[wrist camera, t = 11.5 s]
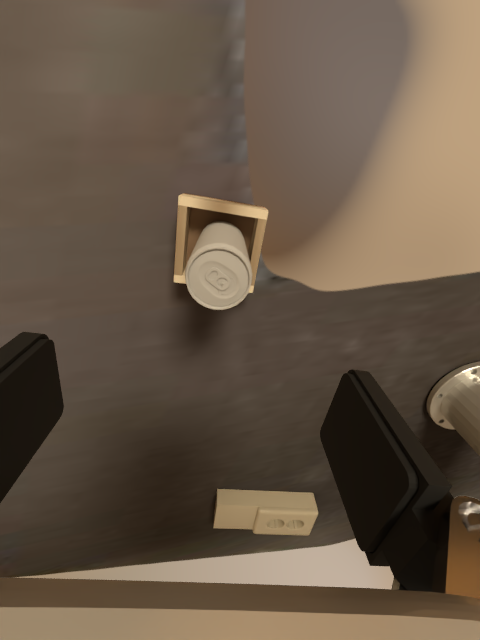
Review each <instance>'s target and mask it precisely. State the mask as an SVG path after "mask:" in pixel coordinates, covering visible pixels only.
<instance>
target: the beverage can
mask: <svg viewBox="0 0 480 640" xmlns="http://www.w3.org/2000/svg"><path fill="white" fill-rule="evenodd" d="M185 280H186V285H187V288H188V291H189V293H190V294H191V296H192V298H194V299H195V300H196V301H197V302H198V303H199V304H201V305H202V306H204V307H206V308H210V309H213V310H224V309H229V308H232V307H234V306H236V305H238V304H239V303H240V302H241V301H243V300H244V298H245V297H246V295H247V294H248V292H249V289H250V287H251V284H252V269H251V264H250V260H249V256H248V252H247V248H246V245H245V241H244V237H243V235H242V233H241V231H240V230H239V229H238V228H237V227H236V226H235V225H233V224H231V223H228V222H224V221H216V222H212V223H210V224H209V225H207V226H206V227H205V228H204V229H203V231H202V233H201V234H200V236H199V239H198V241H197V243H196V245H195V247H194V249H193V251H192V253H191V256H190V258H189V260H188V262H187V266H186V269H185Z"/></svg>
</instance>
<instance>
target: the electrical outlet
mask: <svg viewBox="0 0 480 640" xmlns="http://www.w3.org/2000/svg"><path fill="white" fill-rule="evenodd" d="M317 516H318V509H317V506H316V502H315V498H314V494H313V493H302V492H278V491H253V490H229V489H217V496H216V503H215V510H214V527H213V528H226V529H253V533H255V534H274V535H309V534H310V532H311V530H312V527H313V525H314V523H315V520H316V518H317Z"/></svg>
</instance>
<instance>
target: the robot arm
mask: <svg viewBox="0 0 480 640" xmlns="http://www.w3.org/2000/svg"><path fill="white" fill-rule="evenodd" d="M426 406H427V412H428V414H429V416H430V417H431V418H432V420H433V421H434V422H435V423H436V424H437V425H439V426H441V427H443V428H447V429H454V430H456V431H457V432H458V433H459V434H460V435H461V436H462V437H463V438H464V440H465V441H466V442H467V443H468V444H469V445H470V446H471V447H472V448H473V450H474V451H475V452H476V453H477V454H478V455H479V456H480V362H475V363H470V364H467V365H464V366H461V367H459V368H457V369H455V370H453V371H452V372H450V373H449V374H447V375H446V376H444V377H443V378H442V379H441V380H440V381H439V382H438V383H437V384H436V385H435V386H434V388H433V389H432V391H431V392H430V394H429V397H428V399H427V405H426ZM63 408H64V405H63V398H62V392H61V386H60V379H59V373H58V366H57V360H56V353H55V347H54V342H53V341H52V340H49V338H48V337H47V335H45V334H38V333H30V332H22V333H20V334H19V335H17V336H16V337H15V338H13V339H12V340H11V341H9V342H8V343H7V344H5V345H4V346H3V347H1V348H0V503H1V501H2V500H3V499H4V497H5V496H6V494H7V493H8V491H9V490H10V489H11V487H12V486H13V484H14V483H15V481H16V480H17V479H18V477H19V476H20V474H21V473H22V471H23V470H24V469H25V467H26V466H27V464H28V463H29V461H30V460H31V459H32V457H33V456H34V454H35V453H36V451H37V450H38V449H39V447H40V446H41V444H42V443H43V441H44V440H45V439H46V437H47V436H48V434H49V433H50V431H51V430H52V429H53V427H54V426H55V424H56V423H57V421H58V420H59V419H60V417H61V415H62V412H63ZM320 437H321V441H322V444H323V447H324V450H325V453H326V456H327V458H328V461H329V464H330V467H331V470H332V473H333V476H334V478H335V481H336V484H337V487H338V490H339V493H340V495H341V498H342V501H343V504H344V507H345V510H346V512H347V515H348V518H349V521H350V524H351V527H352V530H353V532H354V535H355V538H356V541H357V544H358V545H359V547H360V549H361V550H362V551H365V553H366V556H367V559H368V561H369V564H370V566H390V568H391V571H392V573H393V575H394V581H393V585H392V590H388V589H370V588H345V587H317V586H287V585H259V584H225V583H194V582H159V581H125V580H122V581H121V580H86V579H46V578H44V579H43V578H4V577H0V640H480V500H478V499H476V498H472V497H469V496H457V497H456V498H453V496H452V495H451V494H450V492H449V490H450V489H451V487H452V486H451V484H450V483H449V481H448V480H447V479H446V477H445V476H444V475H443V473H442V472H441V470H440V469H439V468H438V466H437V465H436V464H435V462H434V461H433V459H432V458H431V457H430V455H429V454H428V452H427V451H426V450H425V448H424V447H423V446H422V444H421V443H420V441H419V440H418V439H417V437H416V436H415V434H414V433H413V432H412V430H411V429H410V428H409V426H408V425H407V423H406V422H405V421H404V419H403V418H402V417H401V415H400V414H399V412H398V411H397V410H396V408H395V407H394V405H393V404H392V403H391V401H390V400H389V399H388V397H387V396H386V394H385V393H384V392H383V390H382V389H381V387H380V386H379V385H378V383H377V382H376V381H375V379H374V378H373V376H372V375H371V374H370V373H369V372H367V371H360V370H349V371H348V373H345V374H343V376H342V378H341V380H340V383H339V385H338V388H337V390H336V393H335V395H334V398H333V400H332V403H331V405H330V408H329V410H328V413H327V415H326V418H325V420H324V423H323V425H322V427H321V431H320Z"/></svg>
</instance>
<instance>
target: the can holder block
mask: <svg viewBox="0 0 480 640" xmlns="http://www.w3.org/2000/svg"><path fill="white" fill-rule="evenodd" d="M267 215H268V210H267V209H266V208H265V207H262V206H257V205H251V204H245V203H239V202H233V201H228V200H222V199H216V198H210V197H204V196H198V195H193V194H187V193H184V194H181V195H179V200H178V217H177V234H176V251H175V268H174V282H177V283H184V284H186V280H185V269H186V266H187V262H188V260H189V258H190V256H191V253H192V251H193V249H194V247H195V245H196V243H197V241H198V239H199V236H200V234H201V233H202V231H203V229H204V228H205V227H206V226H207V225H209V224H210V223H212V222H216V221H224V222H228V223H231V224H233V225H235V226H236V227H237V228H238V229H239V230H240V231H241V233H242V235H243V237H244V241H245V245H246V248H247V252H248V256H249V260H250V264H251V269H252V284H251V287H250V289H249V293H253V288H254V283H255V278H256V273H257V267H258V262H259V257H260V252H261V247H262V242H263V236H264V231H265V226H266V221H267Z"/></svg>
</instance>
